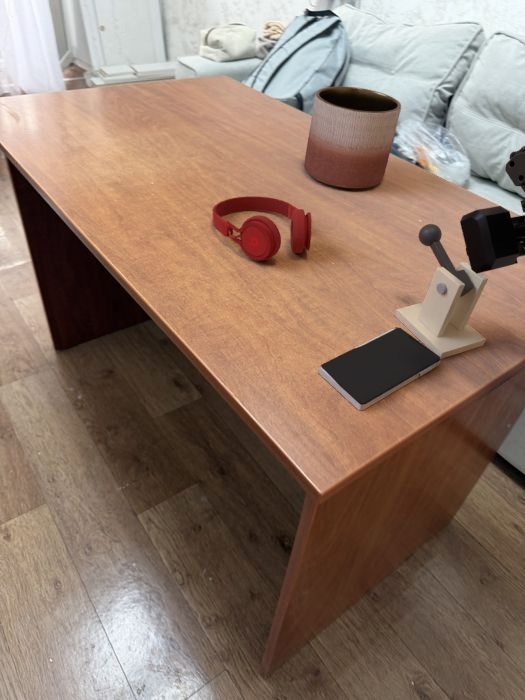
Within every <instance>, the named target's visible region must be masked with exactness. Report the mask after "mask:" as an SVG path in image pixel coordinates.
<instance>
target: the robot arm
mask: <svg viewBox="0 0 525 700" xmlns="http://www.w3.org/2000/svg"><path fill="white" fill-rule="evenodd" d="M504 167H505V168H504V170H505V173H506V174H507V176H508V178H509V179H510V180H511V182H512V184H513V185H514V186H515V187H520V188H521V190H522V191H523V192H524V193H525V145H523V146H522V147H521V148H519V149H518V150H516V151H515V150H514V151H512V152H511V153H510V154H509V160H508V161H507V162H506V164H505V166H504ZM520 205H521V210H522V213H523V214H522V215H517V216H511V212H510V210H508V209H506V208H505V207H503V206H501V205H498V206H497V205H496V206H490V207H486V208H480V209H475V210H473V211H470V212H468V213H466V214H463V215H462V216H461V218H460V221H459V223H460V224H459V225H460V227H461V233H462V236H463V240H464V245H465V253H466V256H467V258H468V261H469V265H470V266H471V270H473V271H474V272H475V273H476V274H478V273H481V274H482V273H485V272H490V271H494V270H497V269H502V268H507V267H509V266H514V265H516V264H518V263H519V261H518V258H520V257H521V258H522V257H524V256H525V214H524V213H525V198H524V199H522V200H520Z"/></svg>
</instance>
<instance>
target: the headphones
mask: <svg viewBox="0 0 525 700" xmlns="http://www.w3.org/2000/svg"><path fill="white" fill-rule="evenodd" d="M243 211H244V212H245V211H246V212H247V211H258V212H259V211H261V212H268V213H274V214H278V215H281V216H284V217H285V218H287V219H289V220H290V233H289V235H290V236H289V237H290V249H291V251H292V253H294V254H302V253H303V252H304V249H305V251H310V248H311V241H312V213H311V212H310V211H308V212H307V213H305V210H304V209H303V208H298V207H296V206H294V205H292V204H291V203H290V202H287V201H285V200H282V199H278V198H274V197H267V196H259V195H258V196H257V195H256V196H253V195H252V196H251V195H250V196H248V195H247V196H237V197H232V198H227V199H225V200H221V201H219V202H218V203H216V204H215V205H214V206H213V207H212V225H213V228H214V229H215V230H217V232H219V233H220V234H221V235H222V236H223V237H225V238H227V237H228V238H230V239H231V240H232V241H233V242H234V243H235V244H236V245H238V246H239V247H240V248H241V250H242V252H243V253H244V254H245V255H246V256H247V257H248V258H250V259H251V260H254V261H268V260H270V259H271V258H273V257H275V256H276V255H277V254H278V252H279V250H280V248H281V245H282V237H281V233H280V230H279V228H278V226H277V224H276V223H275V222H274V221H273V220H271V219H270V218H269V217H267V216H265V215H260V214H257V215H253V216H251V217H248V218H247V219H246V220H244V221H243V223H242V225H241V226H240V227H239V228H238V226H235V225H234V224H233V223H232V222H230V221H229V220H225V219H224V218H223V217H224V216H225V215H229V214H232V213H237V212H243ZM234 232H236V233H237V235H234Z"/></svg>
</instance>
